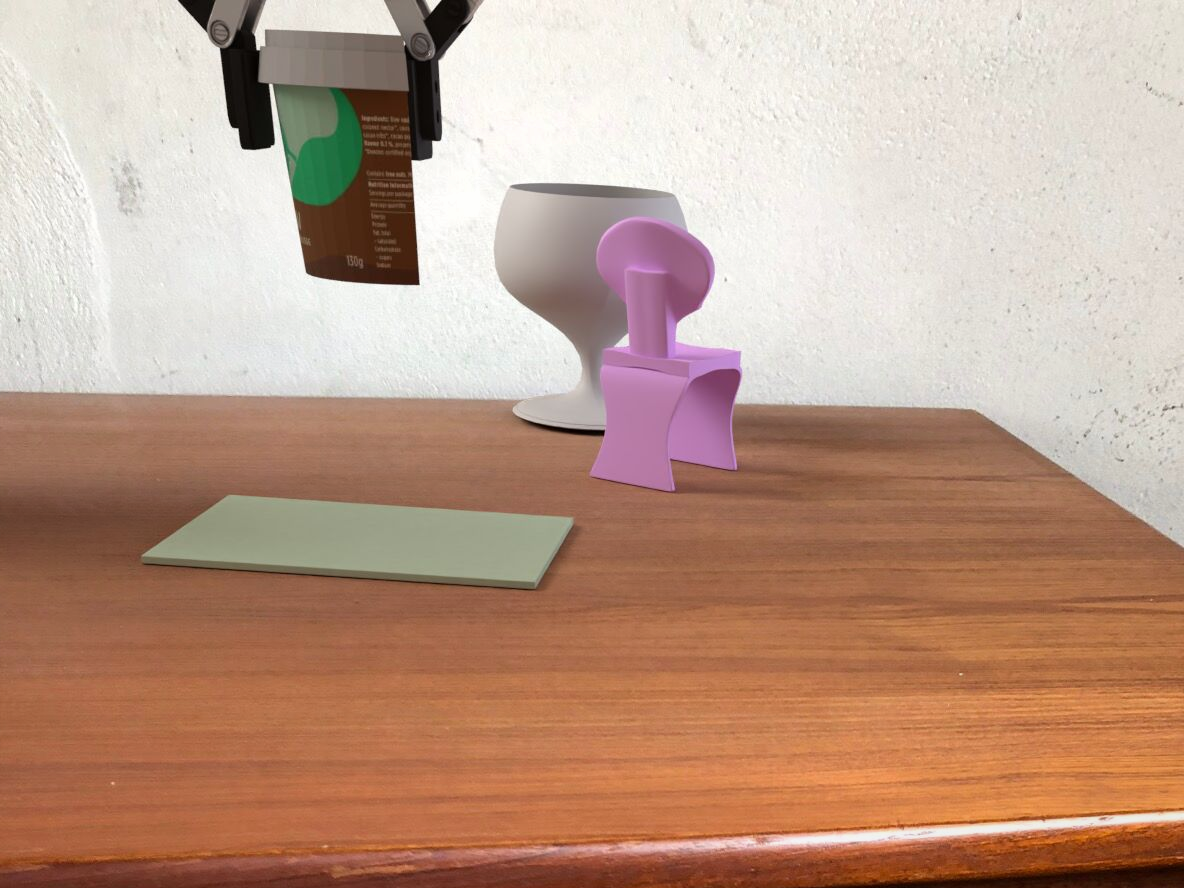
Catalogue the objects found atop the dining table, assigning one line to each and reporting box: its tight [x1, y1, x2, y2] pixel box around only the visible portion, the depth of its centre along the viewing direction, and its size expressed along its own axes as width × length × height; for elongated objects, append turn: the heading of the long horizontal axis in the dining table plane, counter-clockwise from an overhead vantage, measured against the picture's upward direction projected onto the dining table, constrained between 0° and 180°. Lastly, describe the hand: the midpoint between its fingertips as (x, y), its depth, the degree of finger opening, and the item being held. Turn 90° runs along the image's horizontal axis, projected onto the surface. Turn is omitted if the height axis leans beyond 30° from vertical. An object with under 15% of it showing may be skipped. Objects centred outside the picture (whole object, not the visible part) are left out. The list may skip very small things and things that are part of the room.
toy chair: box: [589, 217, 743, 492], centre depth 95 cm, size 8×9×15 cm
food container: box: [258, 28, 421, 286], centre depth 72 cm, size 12×6×10 cm, turn 18°
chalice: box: [493, 182, 689, 432], centre depth 109 cm, size 14×14×15 cm
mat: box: [140, 494, 574, 590], centre depth 81 cm, size 20×13×1 cm, turn 88°
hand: (338, 150), depth 72 cm, fingers closed on food container, 7 cm apart
